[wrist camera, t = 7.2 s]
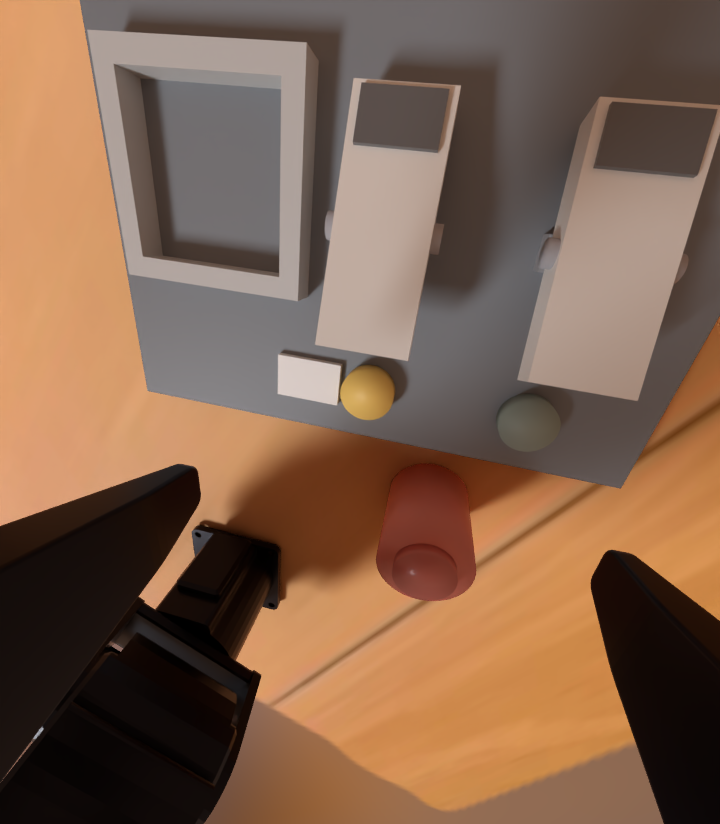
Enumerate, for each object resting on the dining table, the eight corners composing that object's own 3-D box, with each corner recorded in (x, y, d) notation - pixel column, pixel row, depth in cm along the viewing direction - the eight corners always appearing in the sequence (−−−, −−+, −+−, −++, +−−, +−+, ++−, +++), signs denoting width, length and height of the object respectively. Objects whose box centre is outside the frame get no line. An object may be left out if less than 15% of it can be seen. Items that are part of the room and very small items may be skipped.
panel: (606, 469, 17) (633, 506, 15) (166, 381, 20) (130, 399, 18) (849, 15, 10) (977, -56, 8) (109, -15, 13) (35, -73, 11)
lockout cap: (457, 532, 21) (463, 622, 16) (384, 515, 21) (368, 598, 16) (477, 473, 19) (490, 554, 14) (396, 456, 19) (381, 529, 14)
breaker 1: (416, 362, 13) (416, 362, 11) (316, 344, 13) (305, 343, 12) (466, 114, 11) (472, 81, 10) (351, 105, 12) (342, 73, 10)
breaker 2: (625, 398, 12) (651, 403, 10) (508, 378, 12) (519, 380, 11) (704, 135, 10) (746, 102, 9) (569, 124, 11) (590, 91, 10)
